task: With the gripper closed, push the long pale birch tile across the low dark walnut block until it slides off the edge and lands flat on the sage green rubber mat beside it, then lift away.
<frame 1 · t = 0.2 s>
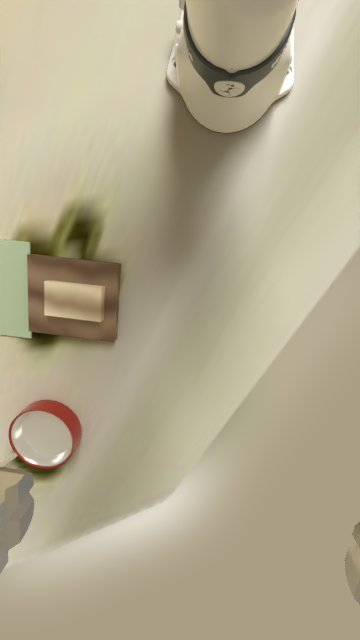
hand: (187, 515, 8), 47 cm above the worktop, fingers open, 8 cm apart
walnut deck: (76, 297, 56), on the worktop
red saucepan: (23, 450, 65), on the worktop
birch tile: (76, 299, 54), point 2 cm above the worktop, touching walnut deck
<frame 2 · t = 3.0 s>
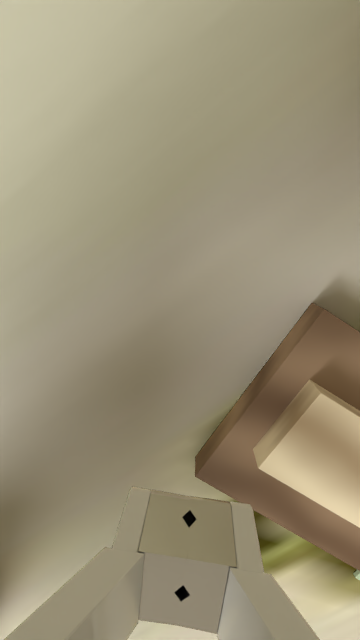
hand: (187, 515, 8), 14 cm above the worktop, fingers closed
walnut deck: (341, 441, 22), on the worktop
birch tile: (342, 453, 20), point 2 cm above the worktop, touching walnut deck
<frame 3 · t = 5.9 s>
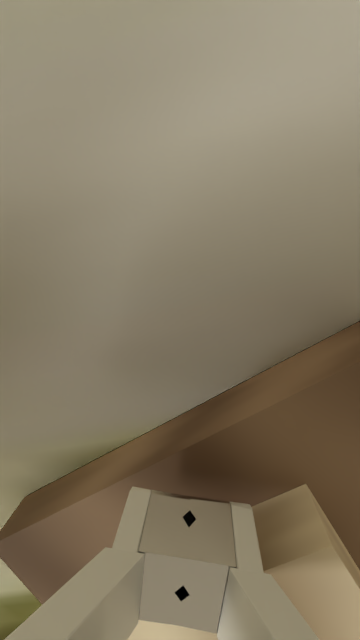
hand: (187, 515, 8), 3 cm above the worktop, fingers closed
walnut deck: (283, 577, 12), on the worktop
birch tile: (291, 634, 10), point 2 cm above the worktop, touching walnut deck
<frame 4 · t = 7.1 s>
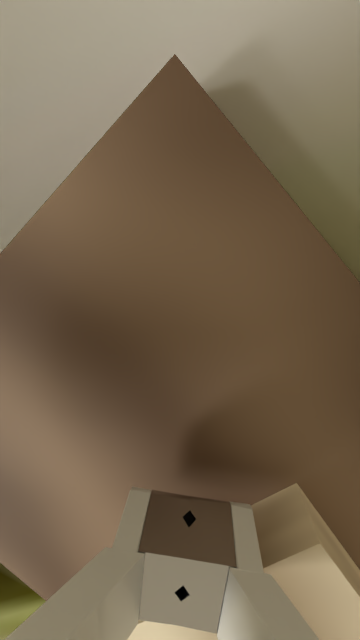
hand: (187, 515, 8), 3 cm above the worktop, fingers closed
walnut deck: (188, 440, 11), on the worktop
birch tile: (295, 634, 10), point 2 cm above the worktop
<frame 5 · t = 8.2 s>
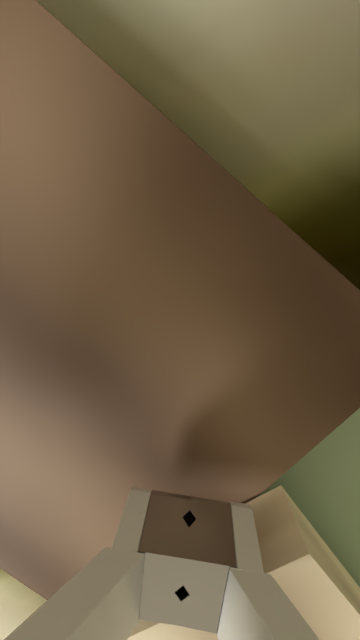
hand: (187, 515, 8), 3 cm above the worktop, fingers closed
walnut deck: (48, 331, 10), on the worktop
birch tile: (270, 607, 11), point 1 cm above the worktop, tilted 10°, touching gripper, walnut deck
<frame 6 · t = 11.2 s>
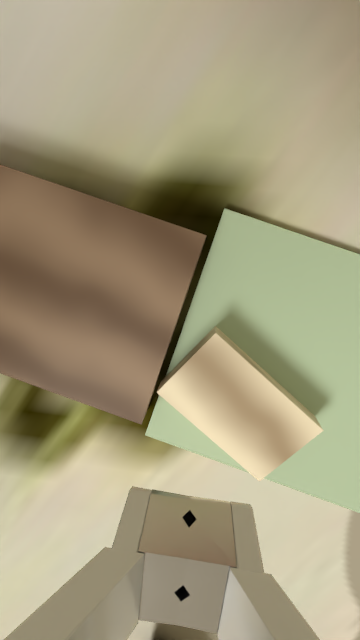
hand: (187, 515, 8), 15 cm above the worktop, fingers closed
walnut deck: (72, 294, 22), on the worktop
green mat: (301, 374, 22), on the worktop
birch tile: (236, 398, 23), resting on green mat
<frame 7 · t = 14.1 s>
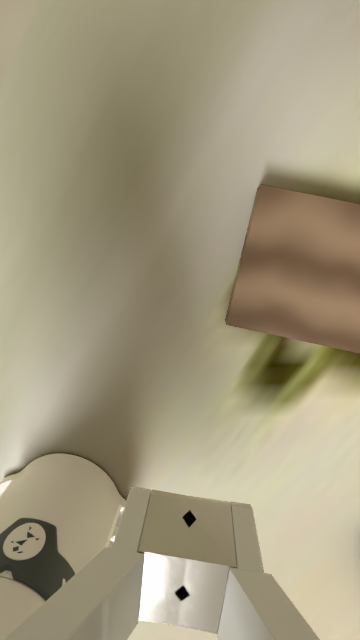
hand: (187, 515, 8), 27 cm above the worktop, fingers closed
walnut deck: (314, 273, 32), on the worktop
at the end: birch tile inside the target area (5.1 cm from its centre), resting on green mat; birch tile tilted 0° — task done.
